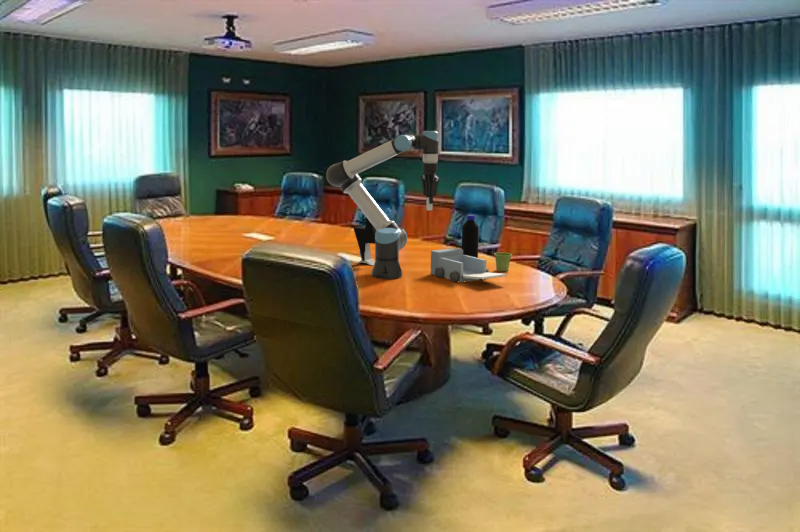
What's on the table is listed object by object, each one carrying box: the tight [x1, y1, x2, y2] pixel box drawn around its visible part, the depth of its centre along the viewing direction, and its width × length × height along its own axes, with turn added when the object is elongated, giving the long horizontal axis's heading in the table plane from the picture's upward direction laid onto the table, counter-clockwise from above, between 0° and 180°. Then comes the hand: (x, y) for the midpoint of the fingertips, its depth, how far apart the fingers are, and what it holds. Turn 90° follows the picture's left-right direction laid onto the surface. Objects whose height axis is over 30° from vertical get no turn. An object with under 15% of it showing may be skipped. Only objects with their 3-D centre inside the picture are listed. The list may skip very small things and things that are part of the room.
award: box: [353, 215, 377, 266], centre depth 381 cm, size 15×5×30 cm, turn 58°
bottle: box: [461, 214, 480, 258], centre depth 374 cm, size 9×9×28 cm
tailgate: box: [462, 272, 508, 280], centre depth 336 cm, size 15×1×15 cm
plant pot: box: [493, 252, 513, 272], centre depth 369 cm, size 9×9×9 cm
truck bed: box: [430, 247, 490, 283], centre depth 352 cm, size 21×24×12 cm
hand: (429, 210), depth 354 cm, fingers closed
